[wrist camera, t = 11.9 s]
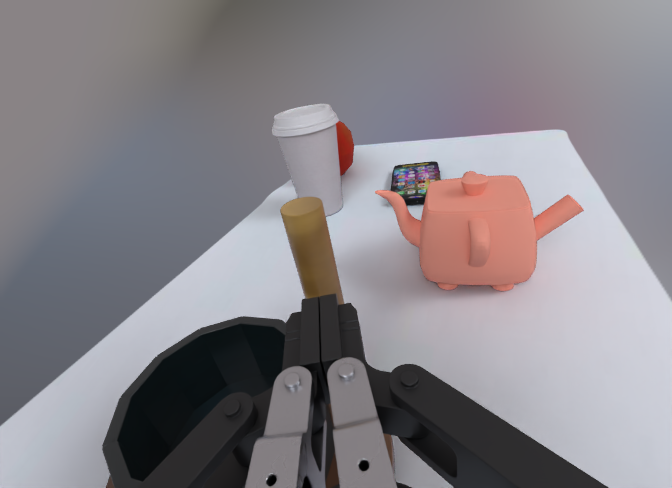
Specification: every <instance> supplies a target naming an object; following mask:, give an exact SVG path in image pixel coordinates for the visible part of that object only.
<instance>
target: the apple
mask: <svg viewBox="0 0 672 488" xmlns="http://www.w3.org/2000/svg"><path fill="white" fill-rule="evenodd" d="M336 131H337V143H338V155H339V166H340V176H342V175H343V174H344V173H345V172H346V171H347V169H348V168H349V167H350V166H351V165H352V163H353V152H354V144H353V139H352V135H351V131H350V130H349V129H348V128H347V127H346V126H345V124H344V123H342V122H340V121H338V122H337V123H336Z"/></svg>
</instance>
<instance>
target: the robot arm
mask: <svg viewBox="0 0 672 488" xmlns="http://www.w3.org/2000/svg"><path fill="white" fill-rule="evenodd" d="M326 404H331V408H332V415H333V423H334V428H333V438H334V446H335V453H336V461H337V469H338V476H339V484H338V485H335V486H333V487H331V488H411V487H409V486H407V485H404V484H401V483H398V482H396V481H395V477H394V473H393V470H392V466H391V462H390V458H389V454H388V450H387V447H386V443H385V439H384V435H383V433H384V434H389V435H395V436H398V438H399V439H400V441H401V442H402V443H404V444H405V445H406V446H407V447H408V448H409V449H410V450H412V451H413V452H414V453H415V454H416V455H417V456H419V457H420V458H421V459H422V460H423V461H424V462H425V463H427V464H428V465H429V466H430V467H431V468H432V469H433V470H435V471H436V472H437V473H438V474H439V475H440V476H442V477H443V478H444V479H445V480H446V481H447V482H448V483H450V484H451V485H452V486H453V487H454V488H608V487H607V486H605V485H604V484H602V483H600V482H599V481H597V480H596V479H594V478H593V477H591V476H590V475H588V474H586V473H585V472H583V471H582V470H580V469H579V468H577V467H576V466H574V465H572V464H571V463H569V462H568V461H566V460H565V459H563V458H562V457H560V456H558V455H557V454H555V453H554V452H552V451H551V450H549V449H548V448H546V447H544V446H543V445H541V444H540V443H538V442H537V441H535V440H534V439H532V438H530V437H529V436H527V435H526V434H524V433H523V432H521V431H520V430H518V429H517V428H515V427H513V426H512V425H510V424H509V423H507V422H506V421H504V420H503V419H501V418H499V417H498V416H496V415H495V414H493V413H492V412H490V411H489V410H487V409H485V408H484V407H482V406H481V405H479V404H478V403H476V402H475V401H473V400H471V399H470V398H468V397H467V396H465V395H464V394H462V393H461V392H459V391H457V390H456V389H454V388H453V387H451V386H450V385H448V384H447V383H445V382H443V381H442V380H440V379H439V378H437V377H436V376H434V375H433V374H431V373H430V372H428V371H426V370H425V369H423V368H422V367H420V366H417V365H414V364H404V365H401V366H398V367H396V368H395V369H394V370H393V371H392V372H384V371H379V370H376V369H374V368H372V367H371V366H370V365H368V363H367V362H366V360H365V354H364V348H363V342H362V336H361V331H360V326H359V321H358V316H357V311H356V309H355V308H354V307H353V306H352V304H351V303H346V304H341V305H339V301H338V297H337V293H334V294H329V295H323V296H320V298H319V296H318V297H313V298H307V299H302V309H301V312H297V313H292V314H291V316H290V317H289V319H288V321H287V323H286V334H285V344H284V355H283V366H282V372H281V373H280V374H279V375H278V376H277V378H276V380H275V382H274V386H272V387H271V388H270V389H268V390H267V391H265V392H263V393H261V394H259V395H257V396H254V397H252V398H251V396H250V395H248V394H247V393H244V392H236V393H232V394H230V395H228V396H226V397H225V398H224V399H222V400H221V401H220V402H219V403H218V404H217V405H216V406H215V407H214V408H213V410H212V411H211V412H210V413H209V414H208V415H207V416H206V417H205V418H204V419H203V420H202V421H201V422H200V423H199V424H198V425H197V426H196V427H195V428H194V429H193V430H192V431H191V432H190V433H189V434H188V435H187V436H186V437H185V438H184V440H183V441H182V442H181V443H180V444H179V445H178V446H177V447H176V448H175V449H174V450H173V451H172V452H171V453H170V454H169V455H168V456H167V457H166V458H165V459H164V460H163V461H162V462H161V463H160V464H159V465H158V466H157V467H156V468H155V469H154V471H153V472H152V473H151V474H150V475H149V476H148V477H147V478H146V479H145V480H144V481H143V482H142V483H141V484H140V485H139V486H138V487H137V488H326V485H325V456H326V430H327V423H326V419H325V417H326V413H325V405H326Z"/></svg>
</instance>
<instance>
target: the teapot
mask: <svg viewBox="0 0 672 488" xmlns="http://www.w3.org/2000/svg"><path fill="white" fill-rule="evenodd" d="M375 193H376V194H378V195H380V196H382V197H383V198H385V199H387V200H388V201H389V202H390V204H391V205H392V207H393V209H394V211H395V214H396V217H397V220H398V224H399V227H400V230H401V232H402V234H403V236H404V237H405V238H406V240H408V241H409V242H410V243H411V244H413V245H415V246H417V247H419V254H420V266H421V269H422V271H423V273H424V276H425V277H426V279H427V280H430V281H433V282H437V285H438V286H439V287H440V288H441V289H444V290H452V289H455V288H456V287H457V286H458V284H460V285H491V287H493V288H494V289H496V290H499V291H508V290H510V289H512V288H513V284H515V283H522V282H525V281H527V280H528V279H529V278H530V277H531V275H532V273H533V272H534V270H535V266H536V259H537V240H539V239H540V238H542V237H543V236H545V235H547V234H548V233H550V232H551V231H553V230H554V229H556V228H557V227H559V226H560V225H562V224H564V223H565V222H567V221H568V220H570V219H571V218H573V217H574V216H576V215H577V214H579V213H581V212H582V211H584V210H583V208H582V207H581V206H580V205H579V204H578V203H577V202H576V201H575V200H574V199H573V198H572V197H571V196H570V195H566V196H565V197H564V198H562V199H561V200H559V201H558V202H556V203H555V204H554V205H552V206H551V207H549V208H548V209H547V210H545V211H544V212H542V213H541V214H539V215H538V216H537V217H535V218H534V217H533V212H532V208H531V203H530V200H529V197H528V195H527V193H526V190H525V188H524V186H523V184H522V183H521V181H520V180H519V178H517V177H516V176H485V175H482V174H477V173H476V172H473V171H469V172H466V173H465V174H464V175H463V177H462V178H455V179H446V180H438V181H434V182H431V183H430V184H429V185H428V189H427V193H426V198H425V203H424V207H423V212H422V218H421V221H420V220H418V219H415V218H414V217H413V216H412V215H411V214H410V213H409V211H408V209H407V206H406V203H405V201H404V199H403V198H402V197H401V196H400V195H399V194H398V193H396V192H393V191H388V190H378V191H375Z"/></svg>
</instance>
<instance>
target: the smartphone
mask: <svg viewBox="0 0 672 488" xmlns="http://www.w3.org/2000/svg"><path fill="white" fill-rule="evenodd" d="M438 180H441V179H440V171H439V167H438V163H437V162H423V163H414V164H405V165H398V166H395V167H394V170H393V174H392V183H391V191H393V192H396V193H398V194H399V195H400V196H401V197H402V198H403V199H404V201H405V203H406V205H410V204H422V203H425V198H426V193H427V189H428V185H429V184H430V183H431V182H434V181H438Z"/></svg>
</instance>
